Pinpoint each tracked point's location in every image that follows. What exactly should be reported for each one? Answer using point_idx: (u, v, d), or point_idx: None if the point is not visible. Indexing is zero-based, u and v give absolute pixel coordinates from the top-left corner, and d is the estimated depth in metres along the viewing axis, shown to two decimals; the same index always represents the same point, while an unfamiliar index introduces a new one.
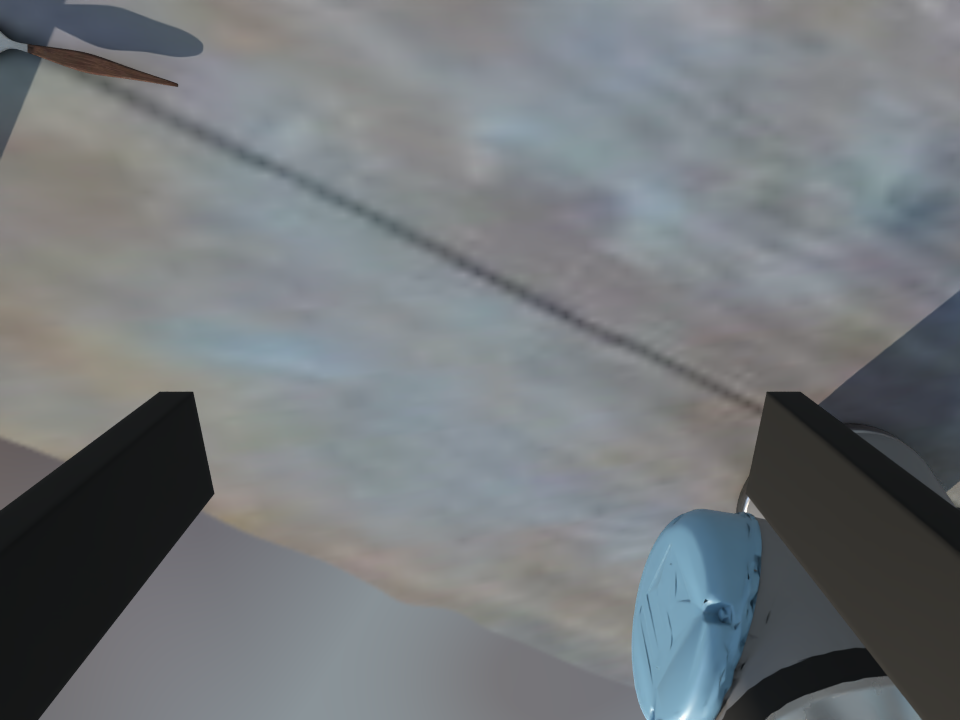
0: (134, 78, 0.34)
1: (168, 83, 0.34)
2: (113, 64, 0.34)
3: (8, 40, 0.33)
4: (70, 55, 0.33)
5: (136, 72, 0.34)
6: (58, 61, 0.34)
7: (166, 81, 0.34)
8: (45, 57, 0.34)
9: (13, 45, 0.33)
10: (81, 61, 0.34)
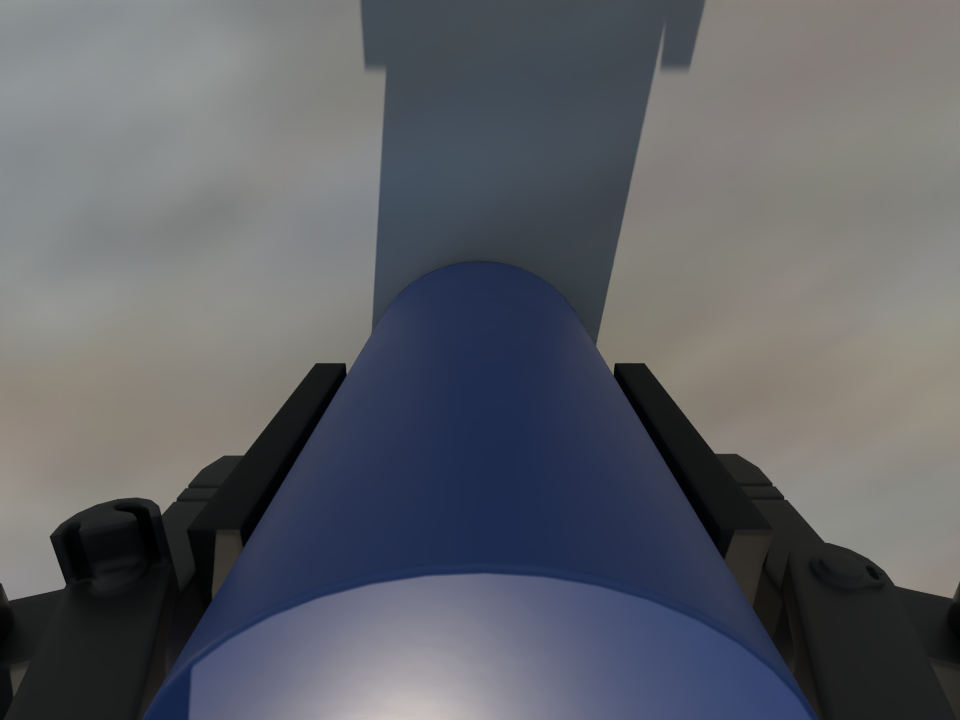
0: None
1: None
2: None
3: None
4: None
5: None
6: None
7: None
8: None
9: None
10: None
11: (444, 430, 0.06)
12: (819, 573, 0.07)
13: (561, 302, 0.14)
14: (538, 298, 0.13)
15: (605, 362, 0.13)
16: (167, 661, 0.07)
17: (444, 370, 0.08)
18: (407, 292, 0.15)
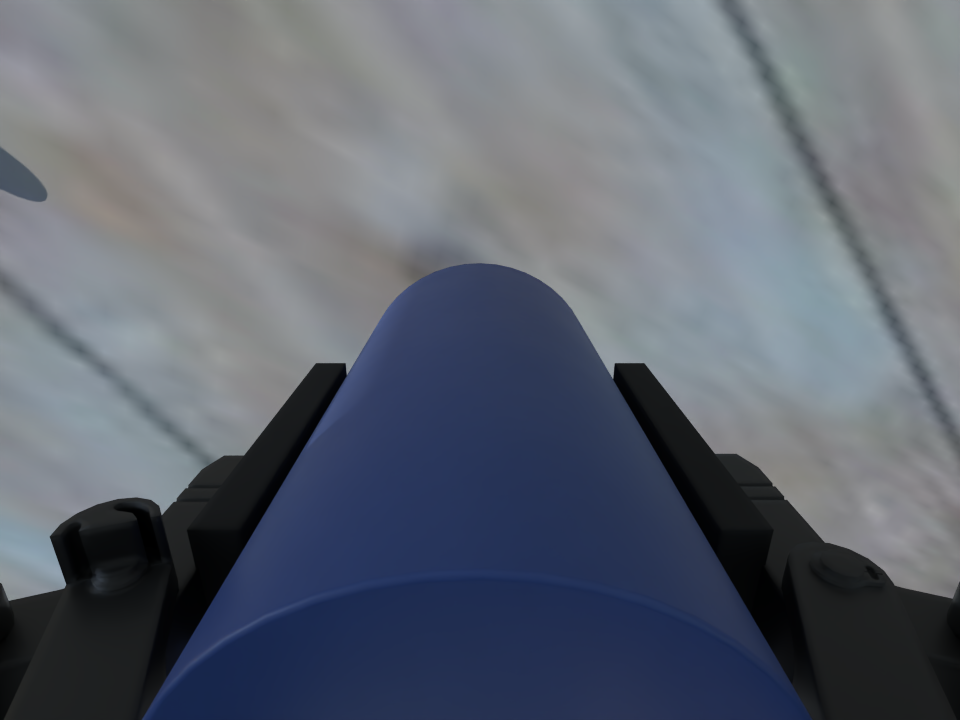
0: None
1: None
2: None
3: None
4: None
5: None
6: None
7: None
8: None
9: None
10: None
11: (442, 434, 0.06)
12: (818, 573, 0.07)
13: (560, 304, 0.14)
14: (537, 300, 0.13)
15: None
16: (167, 662, 0.07)
17: (443, 373, 0.08)
18: (406, 294, 0.15)
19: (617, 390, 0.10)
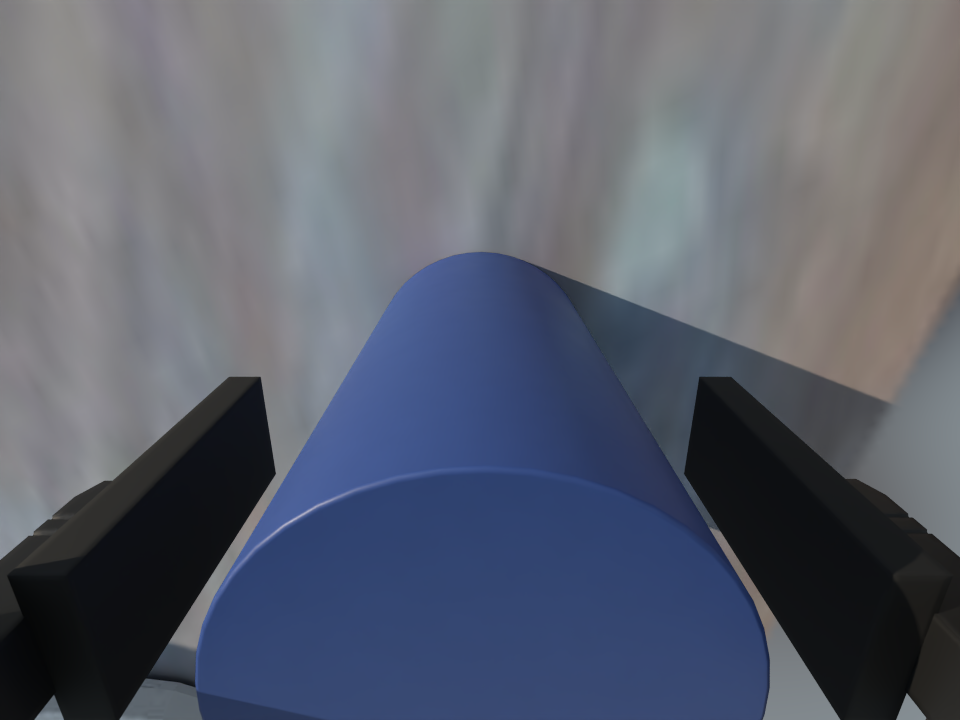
0: None
1: None
2: None
3: None
4: None
5: None
6: None
7: None
8: None
9: None
10: None
11: (452, 381, 0.07)
12: None
13: (556, 289, 0.15)
14: (534, 284, 0.14)
15: None
16: None
17: (450, 338, 0.09)
18: (413, 280, 0.16)
19: (605, 360, 0.11)
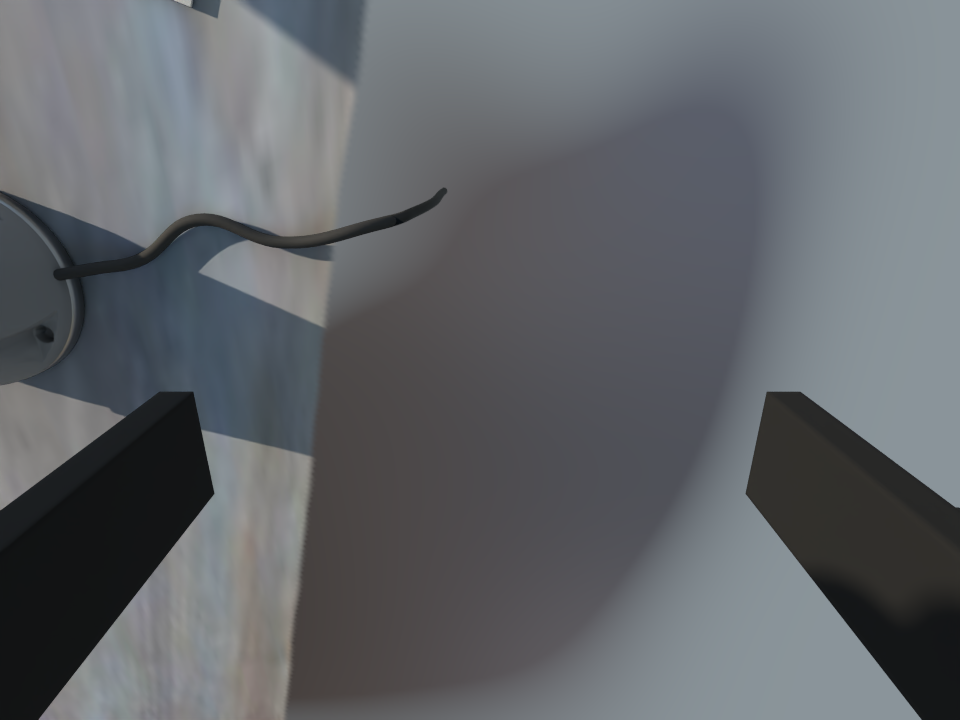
0: None
1: None
2: None
3: None
4: None
5: None
6: None
7: None
8: None
9: None
10: None
11: None
12: None
13: None
14: None
15: None
16: None
17: None
18: None
19: None
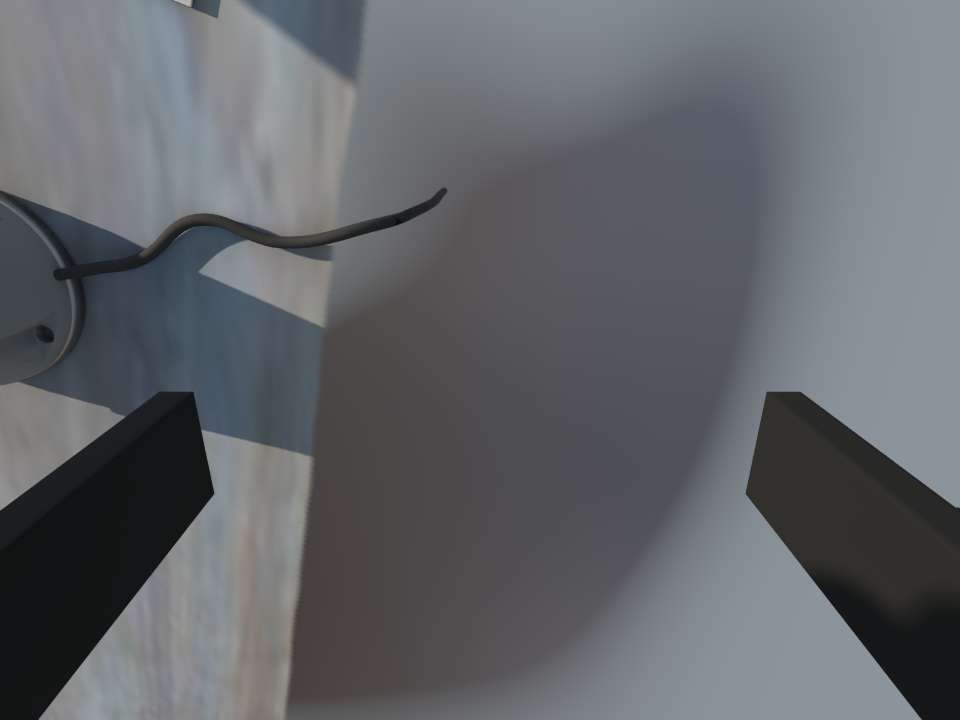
0: None
1: None
2: None
3: None
4: None
5: None
6: None
7: None
8: None
9: None
10: None
11: None
12: None
13: None
14: None
15: None
16: None
17: None
18: None
19: None
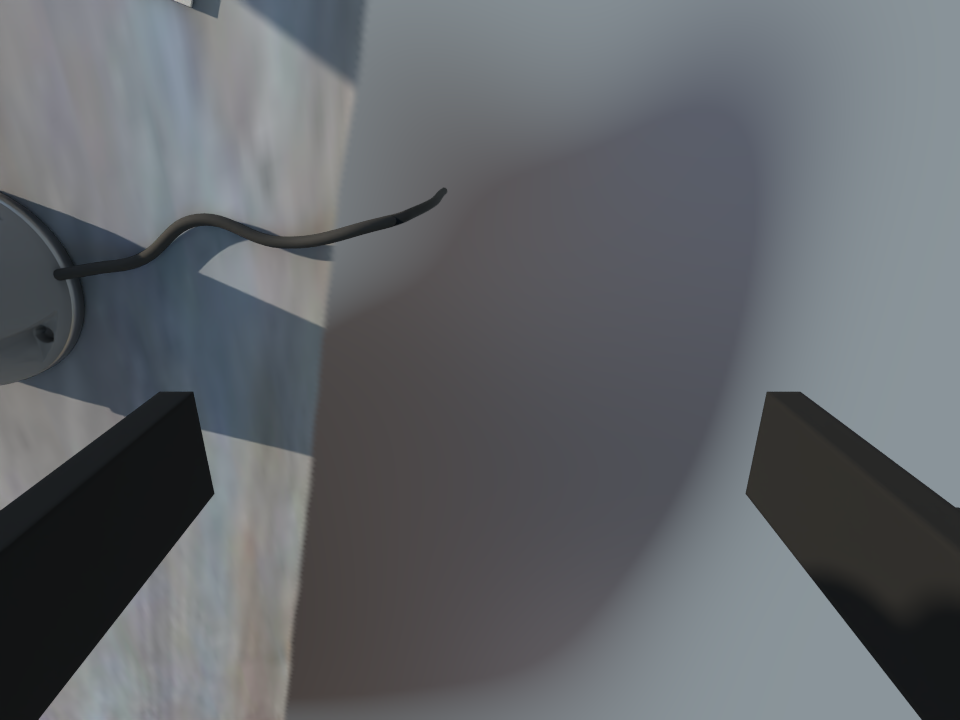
0: None
1: None
2: None
3: None
4: None
5: None
6: None
7: None
8: None
9: None
10: None
11: None
12: None
13: None
14: None
15: None
16: None
17: None
18: None
19: None
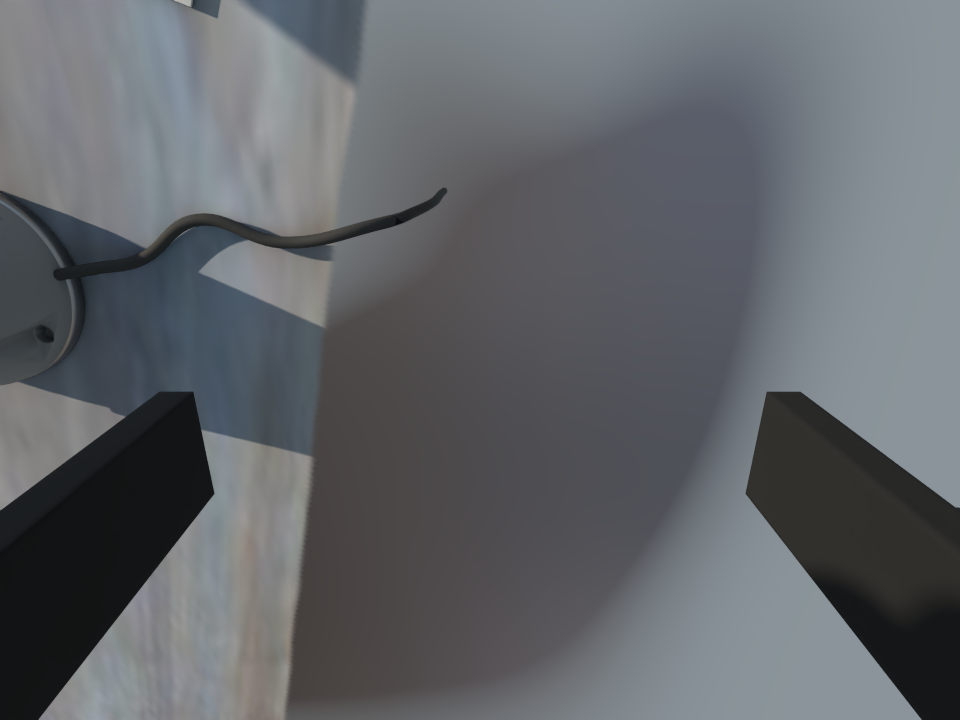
0: None
1: None
2: None
3: None
4: None
5: None
6: None
7: None
8: None
9: None
10: None
11: None
12: None
13: None
14: None
15: None
16: None
17: None
18: None
19: None
